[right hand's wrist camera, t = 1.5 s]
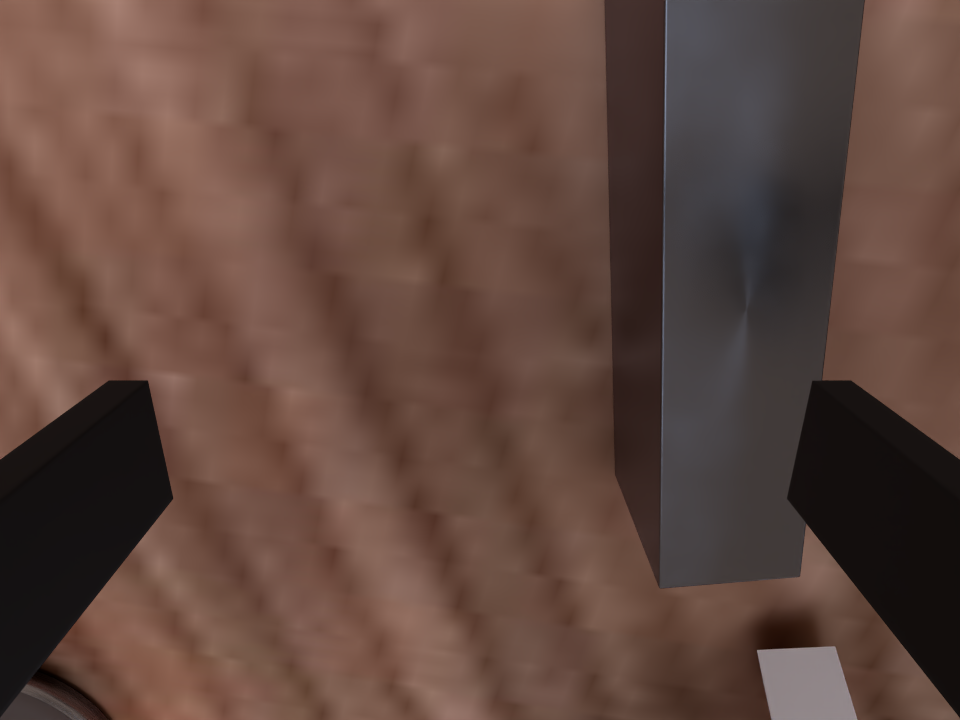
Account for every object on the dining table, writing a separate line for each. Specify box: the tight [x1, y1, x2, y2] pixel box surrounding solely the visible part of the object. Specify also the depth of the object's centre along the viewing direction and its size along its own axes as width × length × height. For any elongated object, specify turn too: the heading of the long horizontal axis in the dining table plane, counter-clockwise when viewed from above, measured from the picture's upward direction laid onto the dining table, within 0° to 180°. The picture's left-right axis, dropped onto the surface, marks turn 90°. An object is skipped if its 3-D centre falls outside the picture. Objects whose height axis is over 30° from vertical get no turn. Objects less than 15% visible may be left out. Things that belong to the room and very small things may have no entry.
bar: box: [605, 0, 865, 588], centre depth 25 cm, size 24×6×9 cm, turn 6°
